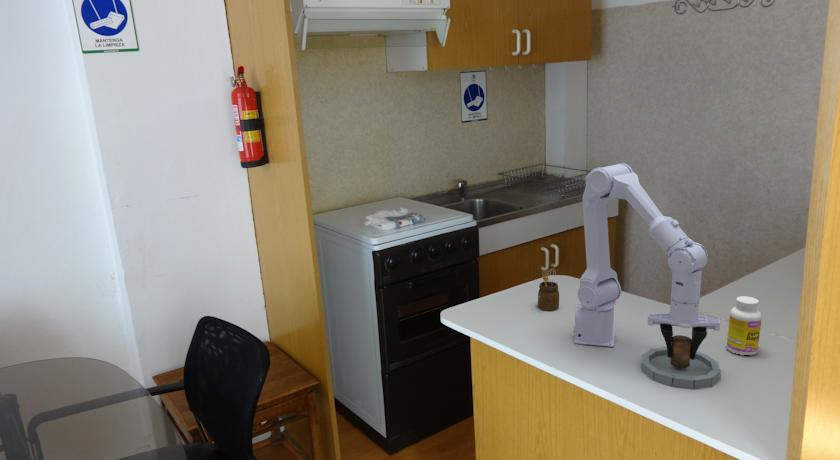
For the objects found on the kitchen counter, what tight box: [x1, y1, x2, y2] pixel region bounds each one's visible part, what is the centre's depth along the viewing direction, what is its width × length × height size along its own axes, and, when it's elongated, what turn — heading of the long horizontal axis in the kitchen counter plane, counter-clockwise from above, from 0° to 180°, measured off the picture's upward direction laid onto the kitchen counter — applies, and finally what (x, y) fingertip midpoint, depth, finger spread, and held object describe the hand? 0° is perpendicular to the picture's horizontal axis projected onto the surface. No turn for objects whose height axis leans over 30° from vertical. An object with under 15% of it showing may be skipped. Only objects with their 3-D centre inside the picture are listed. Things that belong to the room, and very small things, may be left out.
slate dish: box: [640, 346, 722, 390], centre depth 143 cm, size 16×16×2 cm
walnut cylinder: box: [670, 334, 692, 368], centre depth 142 cm, size 4×4×6 cm
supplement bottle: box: [726, 295, 763, 356], centre depth 150 cm, size 7×7×13 cm
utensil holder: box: [537, 269, 560, 312], centre depth 180 cm, size 6×6×12 cm
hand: (680, 356), depth 142 cm, fingers open, 4 cm apart
